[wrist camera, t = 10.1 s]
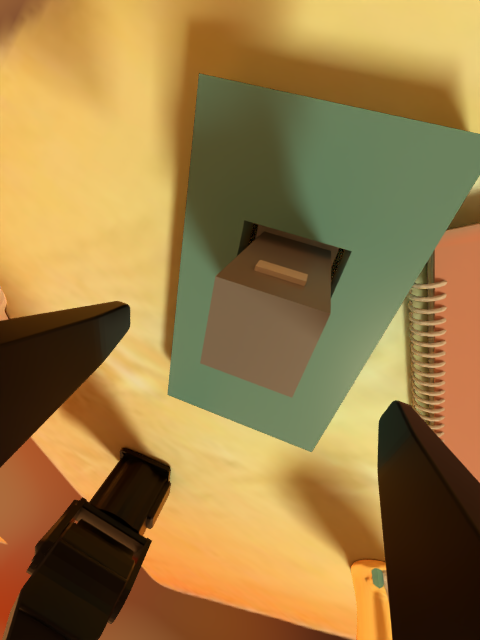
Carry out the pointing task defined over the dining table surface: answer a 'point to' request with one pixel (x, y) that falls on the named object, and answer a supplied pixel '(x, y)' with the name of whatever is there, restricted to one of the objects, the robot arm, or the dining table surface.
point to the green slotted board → (310, 232)
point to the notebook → (452, 344)
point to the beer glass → (371, 600)
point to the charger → (269, 312)
